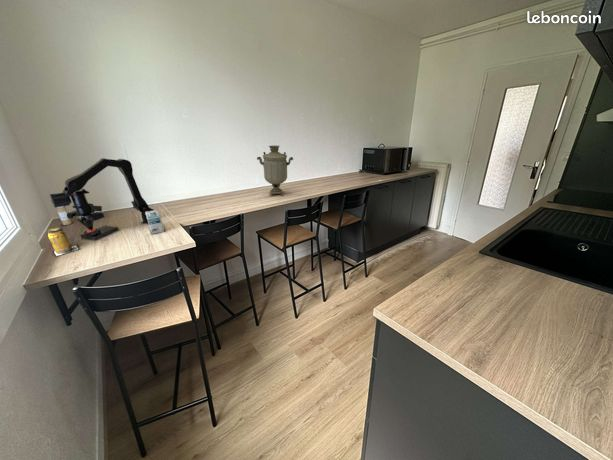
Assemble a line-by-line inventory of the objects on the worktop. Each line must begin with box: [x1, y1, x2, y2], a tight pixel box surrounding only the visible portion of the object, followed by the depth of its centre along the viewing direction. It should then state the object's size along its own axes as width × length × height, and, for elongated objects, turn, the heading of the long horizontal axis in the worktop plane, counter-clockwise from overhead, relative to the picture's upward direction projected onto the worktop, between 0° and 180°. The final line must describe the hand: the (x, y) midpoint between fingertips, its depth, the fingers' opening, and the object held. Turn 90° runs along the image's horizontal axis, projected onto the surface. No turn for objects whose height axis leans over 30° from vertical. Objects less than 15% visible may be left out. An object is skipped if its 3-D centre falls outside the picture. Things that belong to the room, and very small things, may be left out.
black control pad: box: [79, 225, 120, 241], centre depth 142 cm, size 10×14×4 cm
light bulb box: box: [145, 209, 165, 235], centre depth 146 cm, size 11×7×11 cm, turn 35°
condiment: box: [47, 227, 79, 257], centre depth 123 cm, size 7×8×12 cm
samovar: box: [256, 144, 294, 197], centre depth 213 cm, size 30×26×40 cm
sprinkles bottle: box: [55, 206, 73, 226], centre depth 155 cm, size 5×5×13 cm
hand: (91, 229), depth 138 cm, fingers closed, pressing on start button
